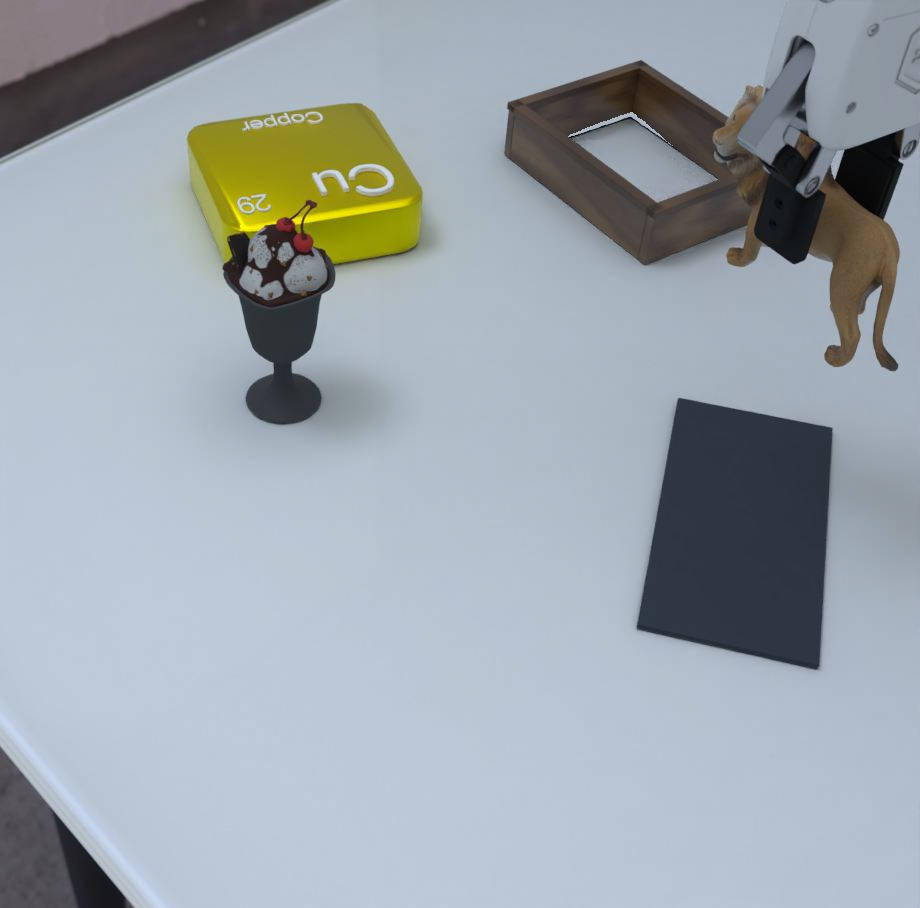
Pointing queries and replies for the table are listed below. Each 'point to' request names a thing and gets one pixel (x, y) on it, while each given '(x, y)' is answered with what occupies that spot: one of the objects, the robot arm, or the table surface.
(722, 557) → the mat
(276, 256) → the sundae
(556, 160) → the wooden box
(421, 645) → the table surface
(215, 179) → the element tile
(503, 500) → the table surface
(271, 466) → the table surface
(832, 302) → the lion figurine
